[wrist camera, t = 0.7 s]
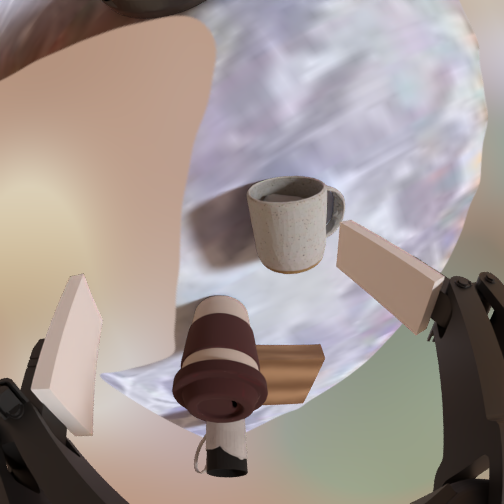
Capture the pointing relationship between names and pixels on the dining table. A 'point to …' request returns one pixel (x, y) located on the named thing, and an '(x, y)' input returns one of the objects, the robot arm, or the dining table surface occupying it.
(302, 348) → the walnut slab
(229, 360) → the coffee cup
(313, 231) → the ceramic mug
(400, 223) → the dining table surface
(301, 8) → the dining table surface
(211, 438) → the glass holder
